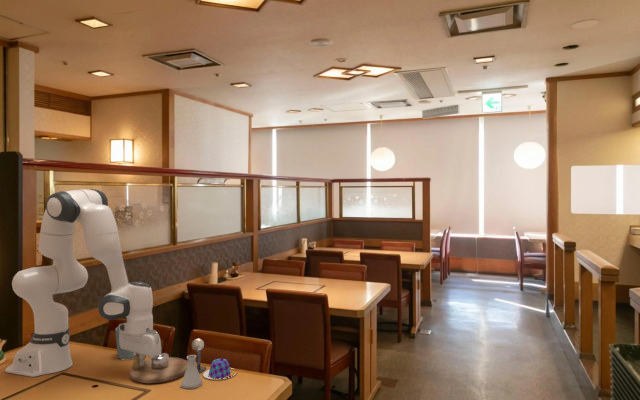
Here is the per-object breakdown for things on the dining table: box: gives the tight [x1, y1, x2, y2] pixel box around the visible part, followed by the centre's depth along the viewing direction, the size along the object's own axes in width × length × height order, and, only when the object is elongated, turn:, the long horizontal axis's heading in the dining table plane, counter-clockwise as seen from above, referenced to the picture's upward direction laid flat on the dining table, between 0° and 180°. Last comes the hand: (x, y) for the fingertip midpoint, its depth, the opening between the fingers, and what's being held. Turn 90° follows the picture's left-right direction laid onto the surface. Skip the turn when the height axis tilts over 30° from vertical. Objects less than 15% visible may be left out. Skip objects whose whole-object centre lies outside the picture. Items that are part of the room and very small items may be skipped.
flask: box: [180, 354, 203, 390], centre depth 154 cm, size 7×7×10 cm
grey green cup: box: [114, 326, 134, 360], centre depth 183 cm, size 10×10×12 cm
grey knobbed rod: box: [191, 337, 207, 374], centre depth 167 cm, size 4×4×12 cm
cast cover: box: [150, 352, 170, 370], centre depth 164 cm, size 6×6×4 cm
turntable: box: [129, 355, 188, 384], centre depth 164 cm, size 20×20×7 cm
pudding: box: [202, 358, 237, 381], centre depth 164 cm, size 12×12×5 cm
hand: (140, 364), depth 162 cm, fingers closed
